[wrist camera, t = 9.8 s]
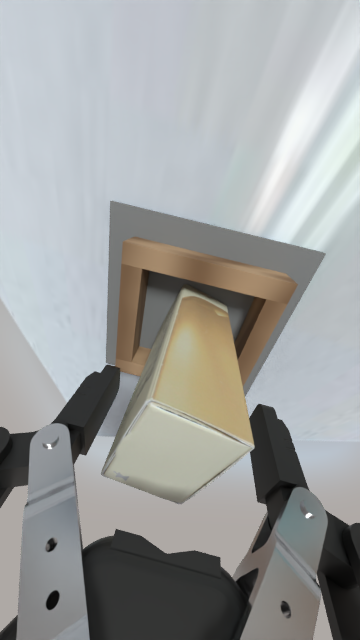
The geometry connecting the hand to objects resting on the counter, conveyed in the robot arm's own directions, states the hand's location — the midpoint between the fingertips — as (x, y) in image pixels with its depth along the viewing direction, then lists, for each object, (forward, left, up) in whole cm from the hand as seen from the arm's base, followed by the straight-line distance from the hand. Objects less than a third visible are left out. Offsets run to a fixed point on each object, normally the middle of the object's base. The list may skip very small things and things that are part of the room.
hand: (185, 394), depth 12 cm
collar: (0, 0, -9) cm, 9 cm away
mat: (0, 0, -9) cm, 9 cm away
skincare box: (0, 0, -9) cm, 9 cm away
